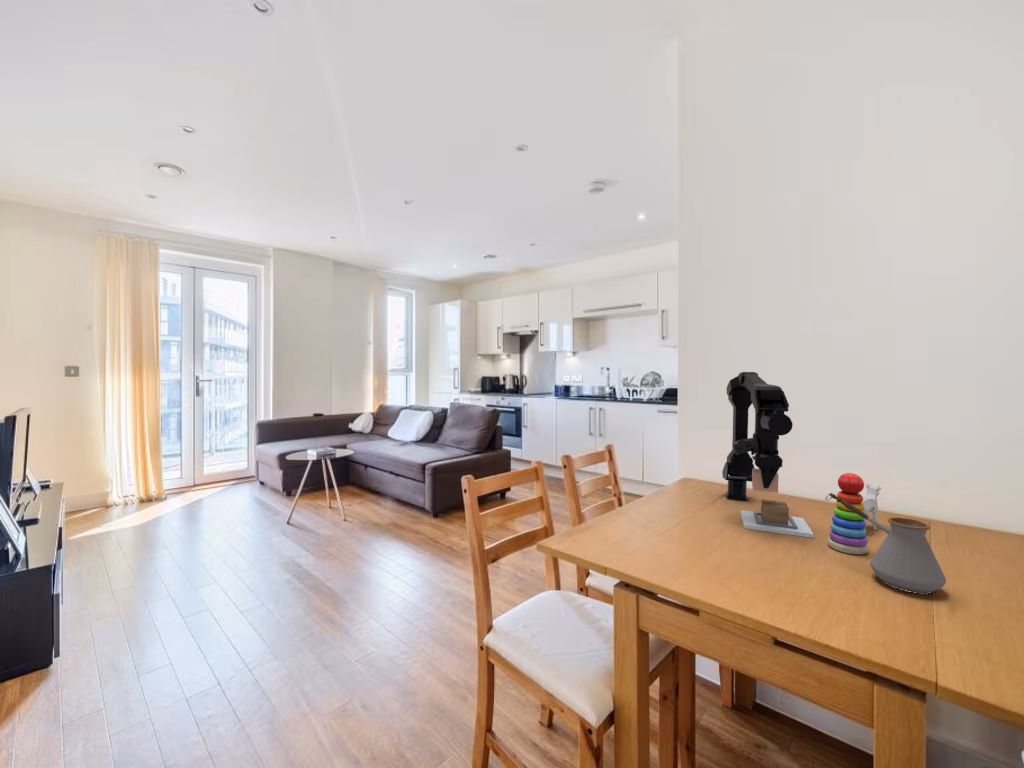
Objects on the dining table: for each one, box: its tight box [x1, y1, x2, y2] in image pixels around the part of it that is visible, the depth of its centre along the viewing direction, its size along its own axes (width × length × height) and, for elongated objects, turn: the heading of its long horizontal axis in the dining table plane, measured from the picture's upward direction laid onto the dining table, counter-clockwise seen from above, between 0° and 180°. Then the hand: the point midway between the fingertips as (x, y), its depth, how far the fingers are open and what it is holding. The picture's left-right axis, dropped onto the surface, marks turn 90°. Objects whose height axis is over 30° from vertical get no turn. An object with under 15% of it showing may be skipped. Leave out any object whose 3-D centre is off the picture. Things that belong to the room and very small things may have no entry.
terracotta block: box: [751, 467, 780, 494], centre depth 124 cm, size 6×6×5 cm
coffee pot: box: [825, 492, 947, 593], centre depth 93 cm, size 21×12×15 cm, turn 23°
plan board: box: [740, 510, 815, 539], centre depth 124 cm, size 14×16×2 cm
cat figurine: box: [861, 482, 882, 531], centre depth 120 cm, size 4×20×14 cm, turn 124°
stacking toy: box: [827, 472, 869, 555], centre depth 107 cm, size 8×8×19 cm
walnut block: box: [760, 499, 790, 525], centre depth 124 cm, size 6×6×5 cm
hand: (764, 485), depth 124 cm, fingers closed on terracotta block, 6 cm apart
